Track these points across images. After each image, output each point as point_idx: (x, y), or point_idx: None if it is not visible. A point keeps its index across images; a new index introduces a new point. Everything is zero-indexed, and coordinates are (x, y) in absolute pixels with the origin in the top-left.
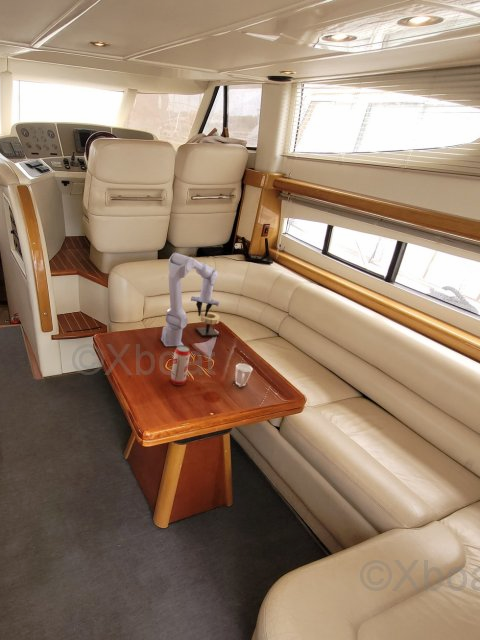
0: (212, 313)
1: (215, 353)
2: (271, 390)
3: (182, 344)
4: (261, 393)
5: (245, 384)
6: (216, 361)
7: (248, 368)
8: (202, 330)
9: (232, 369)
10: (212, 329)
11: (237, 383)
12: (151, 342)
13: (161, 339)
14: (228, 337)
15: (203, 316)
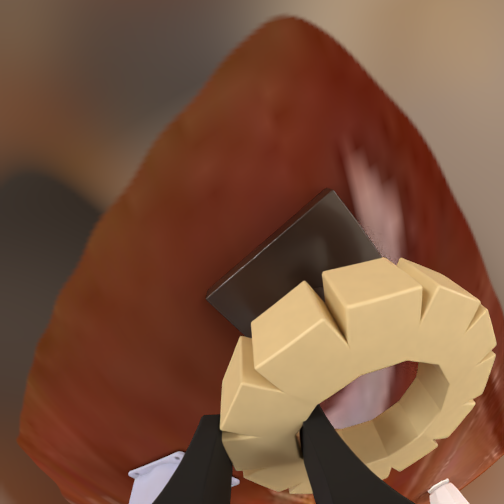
0: (413, 331)
1: None
2: (491, 454)
3: (234, 483)
4: (469, 474)
5: (448, 481)
6: (390, 475)
7: (464, 502)
8: None
9: (433, 468)
10: (355, 241)
11: (431, 492)
12: (123, 487)
13: (135, 479)
14: (461, 259)
15: (295, 478)
